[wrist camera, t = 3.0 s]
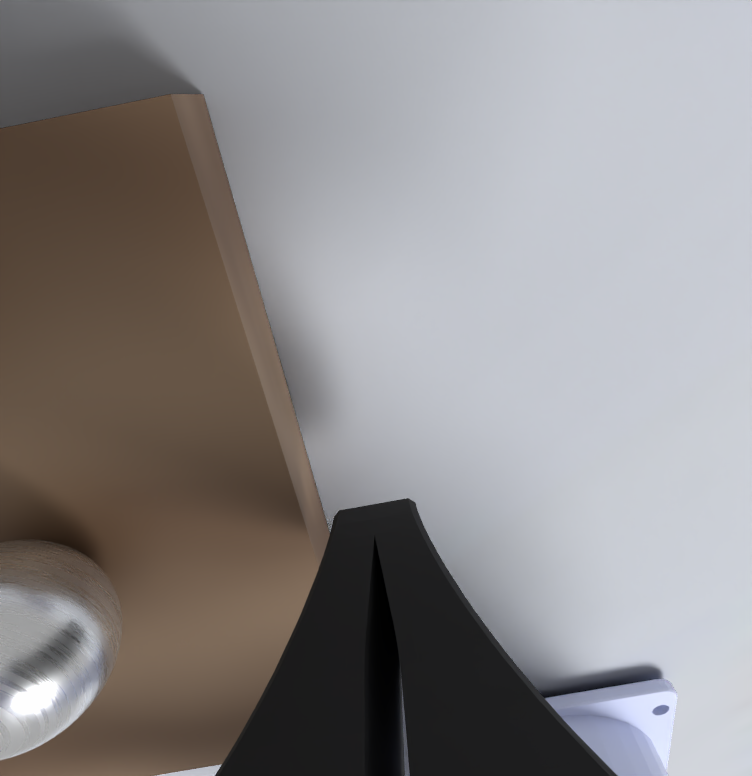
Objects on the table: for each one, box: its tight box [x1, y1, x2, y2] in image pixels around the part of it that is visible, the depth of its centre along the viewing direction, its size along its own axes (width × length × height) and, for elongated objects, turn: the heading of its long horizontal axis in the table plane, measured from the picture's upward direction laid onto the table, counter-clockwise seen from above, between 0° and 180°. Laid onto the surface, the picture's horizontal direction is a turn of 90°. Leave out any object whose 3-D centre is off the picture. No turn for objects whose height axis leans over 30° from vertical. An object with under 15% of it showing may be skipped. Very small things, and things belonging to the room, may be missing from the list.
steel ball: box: [0, 540, 122, 760], centre depth 9 cm, size 3×3×3 cm
